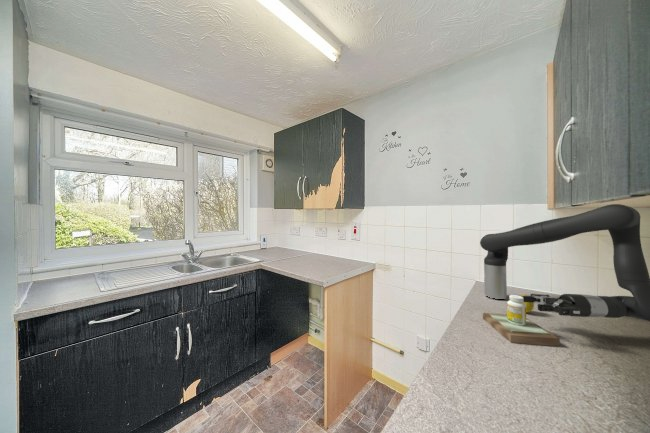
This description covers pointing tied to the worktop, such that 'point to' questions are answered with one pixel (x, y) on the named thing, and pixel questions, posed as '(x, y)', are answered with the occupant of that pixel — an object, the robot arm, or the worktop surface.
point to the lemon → (528, 305)
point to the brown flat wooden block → (520, 331)
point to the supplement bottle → (516, 310)
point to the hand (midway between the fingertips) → (529, 303)
